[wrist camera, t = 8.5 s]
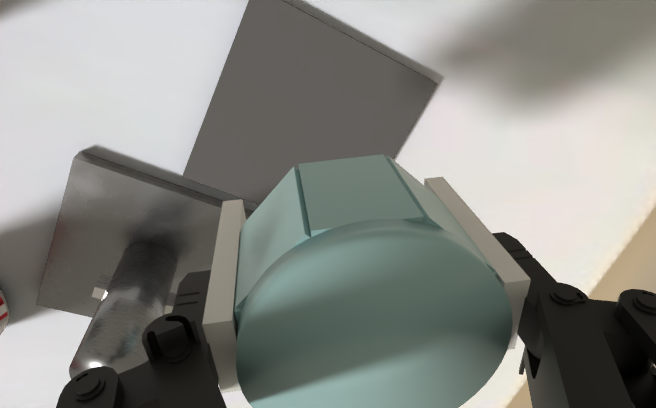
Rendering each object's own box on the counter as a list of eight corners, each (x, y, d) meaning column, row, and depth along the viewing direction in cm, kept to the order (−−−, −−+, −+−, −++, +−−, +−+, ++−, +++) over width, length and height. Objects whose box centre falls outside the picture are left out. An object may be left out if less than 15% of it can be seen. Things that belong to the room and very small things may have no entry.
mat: (183, 172, 27) (182, 176, 27) (254, -15, 23) (254, -15, 22) (345, 230, 31) (347, 235, 31) (434, 81, 27) (437, 83, 26)
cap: (225, 169, 13) (208, 265, 9) (450, 143, 14) (535, 222, 10) (261, 344, 17) (260, 470, 13) (435, 317, 18) (490, 429, 14)
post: (42, 295, 30) (-45, 426, 22) (79, 151, 26) (-12, 245, 17) (206, 333, 34) (188, 457, 25) (264, 215, 30) (266, 318, 21)
